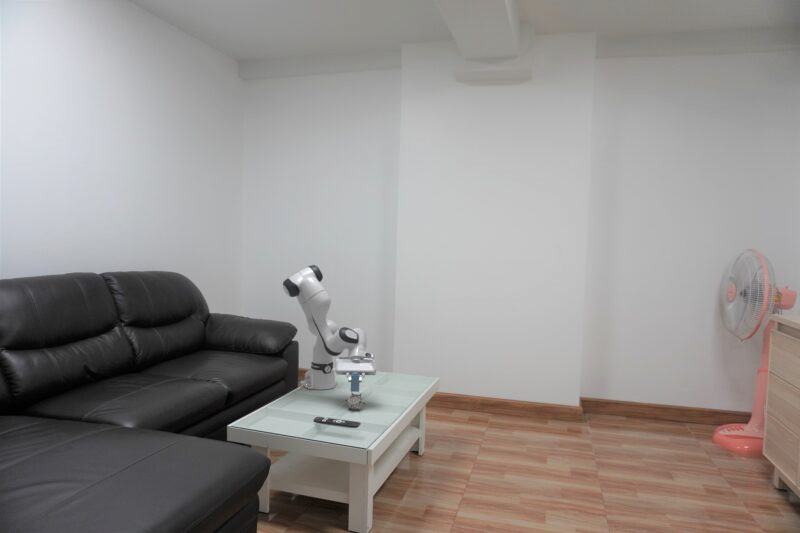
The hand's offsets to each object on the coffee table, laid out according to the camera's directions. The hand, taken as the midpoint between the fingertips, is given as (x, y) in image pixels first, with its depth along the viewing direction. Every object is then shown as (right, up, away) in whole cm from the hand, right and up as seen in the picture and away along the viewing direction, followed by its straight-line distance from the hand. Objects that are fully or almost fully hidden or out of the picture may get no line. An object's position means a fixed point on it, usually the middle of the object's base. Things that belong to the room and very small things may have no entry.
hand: (355, 381), depth 268 cm
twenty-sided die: (0, -14, +1) cm, 14 cm away
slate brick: (0, -5, +1) cm, 5 cm away
